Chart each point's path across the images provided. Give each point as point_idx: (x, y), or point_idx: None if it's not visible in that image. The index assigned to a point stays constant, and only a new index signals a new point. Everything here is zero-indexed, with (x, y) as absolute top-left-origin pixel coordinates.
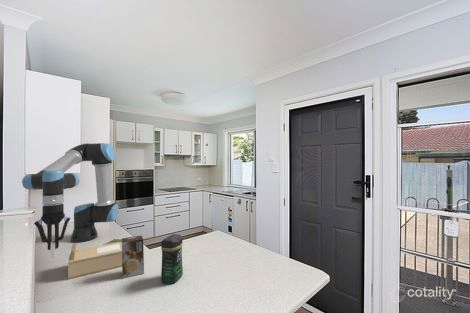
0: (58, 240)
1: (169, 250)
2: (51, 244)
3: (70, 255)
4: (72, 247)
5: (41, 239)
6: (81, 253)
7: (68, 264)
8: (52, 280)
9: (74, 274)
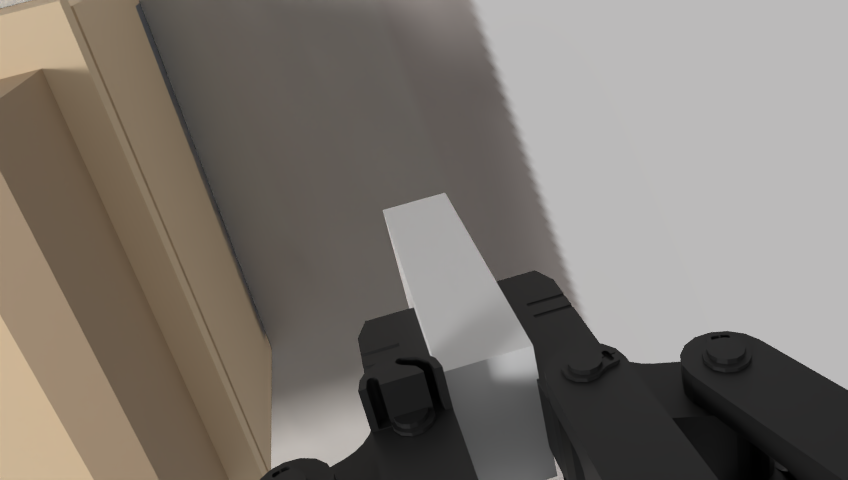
0: (373, 447)
1: None
2: (500, 324)
3: (184, 322)
4: (94, 382)
5: (821, 378)
6: (14, 366)
7: (69, 3)
8: (342, 30)
9: (38, 1)
